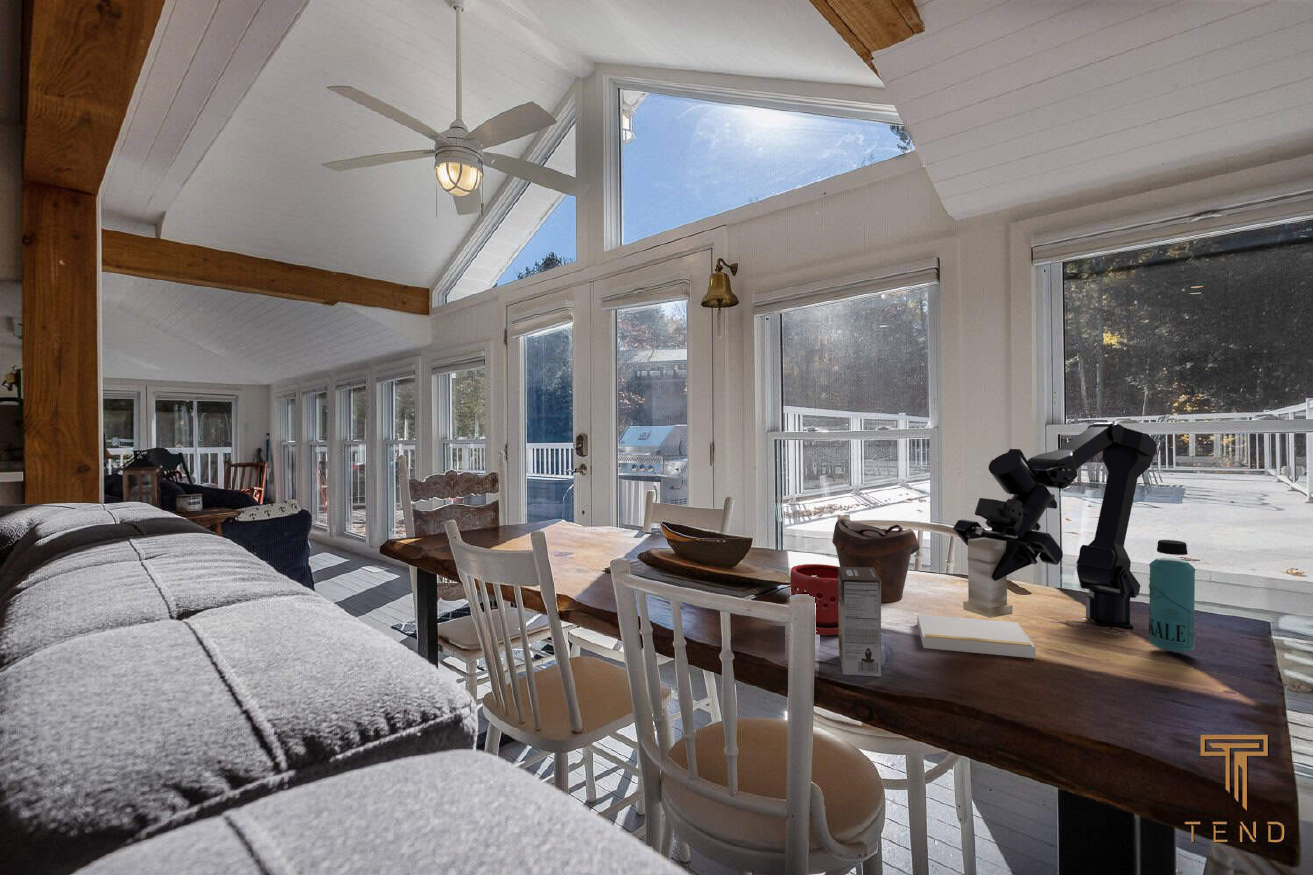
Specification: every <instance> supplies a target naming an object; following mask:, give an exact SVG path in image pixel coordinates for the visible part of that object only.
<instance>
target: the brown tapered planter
mask: <svg viewBox="0 0 1313 875" xmlns="http://www.w3.org/2000/svg"><path fill="white" fill-rule="evenodd" d="M894 529H896V530H894ZM897 529H898V530H897ZM832 534H833V535H832V541H831V542H832V544H833V545H834V546H835V549H836V550H835V551H836V555H837V560H838V563H839V567H874V568H875V570H876V572H877V574H878V576H879V578H880V580H881V603H893V602H898V601H900V600H902V599H903V595H904V589H905V584H906V579H907V576H908V570H909V565H910V562H911V561H910V560H911V555H913V554H915V553H917V552H918V551H919V549H920V545H919V542H918V539H917V536H916V533H915V531H914V530H913V529H912V528H908V529H904V528H903V527H902V526H901V525H899V524H894V525H892V526H890V527H889V528H887V529H886V528H885V529H884V528H881V527H877V526H873V525H868V524H864V523H861V522H857V521H854V520H850V519H846V518H839V519H838V520H836V522H835V524H834V529H833V533H832Z"/></svg>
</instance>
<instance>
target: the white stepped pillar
mask: <svg viewBox="0 0 1313 875" xmlns="http://www.w3.org/2000/svg"><path fill="white" fill-rule="evenodd" d="M1006 542H1007V541H1002V540H997V539H991V538H986V537H984V538H976V539H968V546H967V577H968V578H967V583H968V584H967V586H968V588H967V589H968V591H967V592H968V594H967V595H968V596H967V597H968V600H964V601H962V602H963V603H962V605H963V606H962V607H963V610H964V611H967V612H971V613H972V614H976V615H980V616H982V617H986V618H989V619H993V618H997V617H1003V616H1008V615H1013V605H1012V604H1009V603H1008V583H1007V582H1008V579H1007V578H1008V575H1007V576H1005V577H1003V578H1001V579H999V580H997V581H994V580H993V579H992V574H993V572H994V570H995V568H996V566H997V565H998V563H999V561H1000V560H1001V558H1002V556H1003V555H1004V553H1005V551H1006Z"/></svg>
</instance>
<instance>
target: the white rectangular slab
mask: <svg viewBox="0 0 1313 875" xmlns="http://www.w3.org/2000/svg"><path fill="white" fill-rule="evenodd" d="M916 620H917V628H918V633H919V636H920V640H921V645H922V648H923V649H931V650H932V649H933V650H942V651H954V652H964V653H974V654H975V653H976V654H987V655H995V656H996V655H997V656H1005V657H1007V656H1008V657H1018V658H1026V659H1036V645H1035V644H1034V643H1033V641H1032V640H1031V639H1030V637H1029V636H1028V635H1027V634H1026V632H1025V631H1024V630H1023V628H1022V627H1021V626H1020V624H1019V623H1018V622H1016V621H1008V620H1007V621H1006V620H1005V621H1004V620H993V619H992V620H990V619H977V618H968V617H967V618H964V617H953V616H939V615H930V614H929V615H928V614H927V615H926V614H917V616H916Z"/></svg>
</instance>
